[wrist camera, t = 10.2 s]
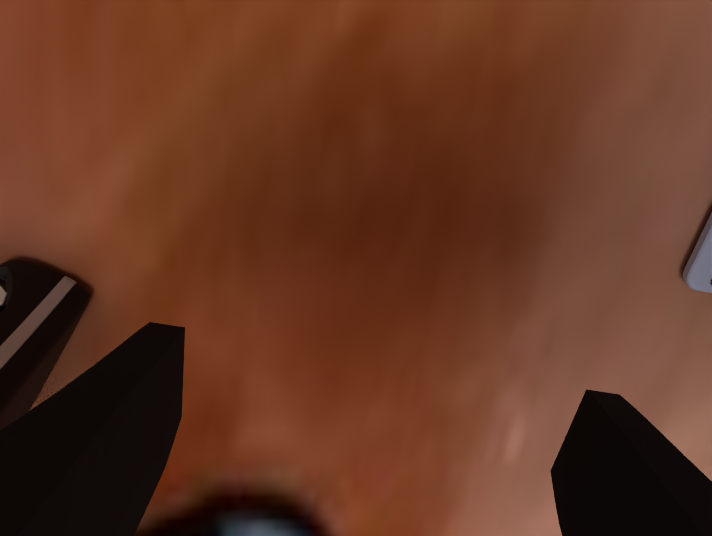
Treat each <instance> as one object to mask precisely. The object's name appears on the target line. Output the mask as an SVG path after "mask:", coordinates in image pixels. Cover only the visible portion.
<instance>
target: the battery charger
mask: <svg viewBox="0 0 712 536" xmlns="http://www.w3.org/2000/svg"><path fill="white" fill-rule="evenodd" d="M76 283H77V282H76V281H74V280H72V279H70V278H69V277H67V276H65V277H61V276H59V275H57V274H56V273H54V272H52V271H50V270H48V269H46V268H43V267H40V266H37V265H35V264H32V263H29V262H24V261H18V260H12V261H7V262H5V263H2V264H0V430H1V429H2V428H4V427H6V426H7V425H9V424H10V423H12V422H13V421H15V420H16V419H18V418H19V417H21V416H22V415H24V414H25V413H27V412H28V411H29V410H30V409H31V407H32V405H33V403H34V401H35V400H36V398H37V396H38V394H39V392H40V391H41V389H42V387H43V385H44V383H45V382H46V380H47V378H48V376H49V374H50V373H51V371H52V369H53V367H54V365H55V364H56V362H57V360H58V358H59V356H60V355H61V353H62V351H63V349H64V347H65V345H66V344H67V342H68V340H69V338H70V336H71V334H72V333H73V331H74V329H75V327H76V325H77V324H78V322H79V320H80V318H81V316H82V314H83V312H84V311H85V309H86V307H87V305H88V303H89V300H90V294H89V293H88V292H87V291H86V290H85V289H83V288H82V287H80V286H78V285H76Z"/></svg>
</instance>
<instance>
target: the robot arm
mask: <svg viewBox="0 0 712 536" xmlns="http://www.w3.org/2000/svg"><path fill="white" fill-rule="evenodd" d="M711 278H712V213H711V215H710V217H709V219H708V221H707V223H706V225H705V227H704V229H703V231H702V233H701V235H700V238H699V240H698V242H697V244H696V246H695V248H694V250H693V252H692V254H691V256H690V258H689V261H688V263H687V265H686V267H685V269H684V272H683V280H684V281H685V283H686V284H687V285H688V286H689V287H690V288H691V289H693V290H696V291H701V292H707V293H712V281H711ZM710 281H711V282H710ZM184 338H185V328H184V327H178V326H171V325H165V324H158V323H152V322H150V323H148V324H147V325H145V326H144V327H142V328H141V329H140V330H138V331H137V332H136V333H134V334H133V335H132V336H131V337H129V338H128V339H127V340H126V341H124V342H123V343H122V344H121V345H119V346H118V347H117V348H115V349H114V350H113V351H112V352H110V353H109V354H108V355H106V356H105V357H104V358H103V359H101V360H100V361H99V362H97V363H96V364H95V365H94V366H92V367H91V368H89V369H88V370H87V371H85V372H84V373H83V374H81V375H80V376H79V377H77V378H76V379H75V380H73V381H72V382H70V383H69V384H68V385H66V386H65V387H64V388H62V389H61V390H60V391H58V392H57V393H55V394H54V395H52V396H51V397H50V398H48V399H47V400H45V401H44V402H42V403H41V404H39V405H38V406H36V407H34V408H33V409H31V410H30V411H28V412H27V413H25V414H24V415H22V416H21V417H19V418H18V419H16V420H15V421H13V422H12V423H10V424H9V425H7V426H6V427H4V428H2V429H1V430H0V536H134V534H135V532H136V530H137V528H138V525H139V523H140V521H141V519H142V517H143V515H144V513H145V510H146V508H147V506H148V504H149V502H150V500H151V497H152V495H153V493H154V491H155V489H156V486H157V484H158V482H159V480H160V478H161V475H162V473H163V471H164V469H165V466H166V463H167V460H168V457H169V454H170V451H171V448H172V445H173V442H174V439H175V436H176V433H177V429H178V426H179V423H180V420H181V417H182V392H183V365H184ZM551 477H552V483H553V490H554V497H555V503H556V509H557V514H558V520H559V525H560V529H561V532H562V536H712V481H711V480H709V479H708V478H707V477H706V476H705V475H704V474H703V473H702V472H701V471H700V470H699V469H698V468H697V467H696V466H695V465H694V464H693V463H692V462H691V461H690V460H688V459H687V458H686V457H685V456H684V455H683V454H682V453H681V452H680V451H679V450H678V449H677V448H676V447H675V446H674V445H673V444H672V443H671V442H670V441H669V440H668V439H667V438H666V437H665V436H664V435H663V434H662V433H661V432H660V431H659V430H657V429H656V428H655V427H654V426H653V425H652V424H651V423H650V422H649V421H648V420H647V419H646V418H645V417H644V416H643V415H642V414H641V413H640V412H639V411H637V410H636V409H635V408H634V407H633V406H632V405H631V404H630V403H629V402H627V401H626V400H625V399H624V398H623V397H622V396H620V395H618V394H612V393H605V392H599V391H592V390H586V392H585V394H584V396H583V398H582V401H581V403H580V405H579V408H578V410H577V412H576V414H575V417H574V419H573V421H572V423H571V426H570V428H569V430H568V433H567V435H566V437H565V439H564V442H563V444H562V446H561V449H560V451H559V453H558V455H557V458H556V460H555V462H554V464H553V467H552V469H551Z"/></svg>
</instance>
